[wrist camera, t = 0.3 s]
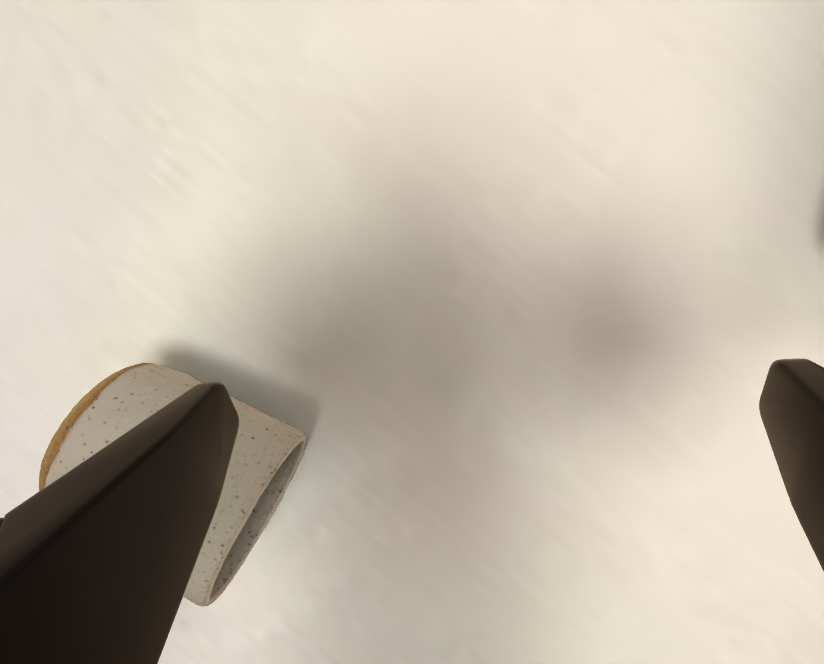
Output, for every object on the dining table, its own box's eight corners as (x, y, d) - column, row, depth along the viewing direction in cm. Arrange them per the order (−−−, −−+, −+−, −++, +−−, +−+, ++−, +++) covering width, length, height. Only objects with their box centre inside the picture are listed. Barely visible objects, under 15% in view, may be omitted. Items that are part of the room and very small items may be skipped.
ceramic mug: (167, 331, 24) (32, 395, 17) (325, 406, 24) (258, 503, 17) (113, 503, 28) (-21, 619, 20) (252, 569, 28) (169, 710, 20)
